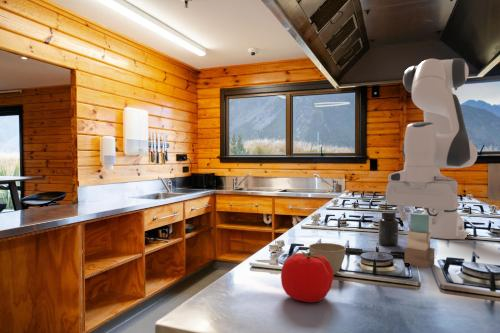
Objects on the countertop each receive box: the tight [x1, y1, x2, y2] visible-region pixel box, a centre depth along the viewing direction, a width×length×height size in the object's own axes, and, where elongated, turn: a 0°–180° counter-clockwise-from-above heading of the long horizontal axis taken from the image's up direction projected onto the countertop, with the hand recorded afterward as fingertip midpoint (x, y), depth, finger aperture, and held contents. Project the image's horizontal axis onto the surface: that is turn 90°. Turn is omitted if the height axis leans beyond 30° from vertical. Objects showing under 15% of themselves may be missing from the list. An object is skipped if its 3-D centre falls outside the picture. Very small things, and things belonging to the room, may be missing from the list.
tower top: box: [406, 230, 431, 251], centre depth 105 cm, size 5×5×5 cm
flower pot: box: [308, 242, 347, 276], centre depth 97 cm, size 10×10×7 cm
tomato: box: [280, 250, 334, 303], centre depth 79 cm, size 12×12×10 cm
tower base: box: [404, 246, 435, 269], centre depth 105 cm, size 6×6×5 cm
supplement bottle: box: [378, 211, 400, 247], centre depth 130 cm, size 7×7×12 cm
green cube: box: [409, 212, 429, 233], centre depth 105 cm, size 5×5×5 cm
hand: (419, 222), depth 105 cm, fingers open, 8 cm apart
